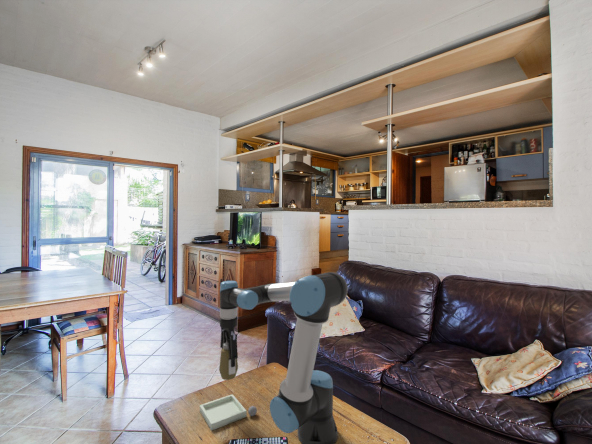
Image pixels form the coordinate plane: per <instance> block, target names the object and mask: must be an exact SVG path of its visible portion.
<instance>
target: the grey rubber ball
mask: <svg viewBox="0 0 592 444" xmlns="http://www.w3.org/2000/svg"><path fill="white" fill-rule="evenodd" d="M257 412H258V411H257V407H256V406H254V405H250V406H249V407H248V410H247V414H248V415H249V416H250V417H253V416H256V414H257Z"/></svg>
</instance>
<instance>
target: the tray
mask: <svg viewBox="0 0 592 444" xmlns="http://www.w3.org/2000/svg"><path fill="white" fill-rule="evenodd" d="M199 413H200V414H201V415H202V418H203V419H204V421H205V423H206V424H207V425H208V428H209V429H210V431H211V432H212V431H213V430H216V429H219V428H221V427H224V426H226V425H228V424H229V425H230V424H232V423H234V422H236V421H239V420H242V419H245V418H247V414H248V410H247V409H246V408H245V407H244V406H243V405H242V403H241V402H240V401H239V400H238V398H237V397H236V396H235V395H234V394H230V395H229V394H228V395H226V396H223V397H220V398H217V399H214V400H211V401H209V402H205V403H202V404H199Z"/></svg>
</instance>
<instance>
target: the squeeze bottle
mask: <svg viewBox="0 0 592 444" xmlns="http://www.w3.org/2000/svg"><path fill="white" fill-rule="evenodd" d="M229 358H230V356H229V348H228V343H227V341H226V343H224V344H223V349H222V348H221V351H220V359H219V368H218V371H219V374H220V376H221V379H222V380H225V381H230V380H233V379H235V378H236V375H237V373H238V369H239V363H238V358H237V359H236V368H235V374H231V375H229V360H228V359H229Z"/></svg>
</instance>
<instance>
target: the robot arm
mask: <svg viewBox="0 0 592 444" xmlns="http://www.w3.org/2000/svg"><path fill="white" fill-rule="evenodd" d="M238 284H239V283H238V282H237V281H236V280H223V281H222V282H220V285H219V317H220V318H219V327H220V345H219V347H220V349H221V350H222V349H223V344H224V343H226V341H227V343H228V348H229V356H230V358H229V359H228V360H229V375H231V374H235V368H236V359H237V360H238V359H239V357H238V355H239V354H238V353H239V352H238V334H237V333H235V328H236V327H237V326H238V324H239V323H238V310H239V308H240V309H243V310H253V309H254V308H255V307H256V306H258V305H261V304H265V303H273V302H287V301H289V302H290V303H291V305H290V306H291V308H292V310H293V314H294V316H295V317H296V323H295V327H294V332H293V333H294V334H293V339H292V343H291V344H292V345H291V350H290V355H289V360H288V366H287V371H286V376H285V378H284V379H283V380H282V381H281V382H280V385H279V389H278V394H277V395H276V396H273V397H272V399H270V403H269V411H270V416H271V418H272V421H273V422H274V424H275V425H276V428H278V429H279V430H280V431H281V432H283V433H285V434H291V433H293V432H295V431H296V430H297V438H298V440H299V442H300V443H301V444H335V443H336V442H337V441H338V427H337V424H336V421H335V417H334V411H333V410H334V409H333V408H334V407H333V406H334V405H333V403H334V392H333V391H334V390H333V389H334V384H333V378H332V376H331V375H330V374H329V373H327V372H325V371H322V370H317V369H316V370H314V369H315V363H316V358H317V353H318V348H319V343H320V337H321V333H322V328H323V324H326V323H327V322H328V320H329V316H330V312H331V308H333V307H336V306H338V305H340V304H341V303H343V302H344V301H345V300H346V297H347V295H348V289H349V288H348V284H347V281H346V279H345V278H344V277H343V276H342V275H341V274H339V273H338V272H333V271H332V272H331V271H329V272H327V271H326V272H322V273H318V274H312V275H310V274H309V275H306V276H304V277H301V278H299V279H297V280H295V281H286V282H285V281H284V282H277V283H267V284H262V285H257V286H252V287H247V288H240V287H239V286H238Z"/></svg>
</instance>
